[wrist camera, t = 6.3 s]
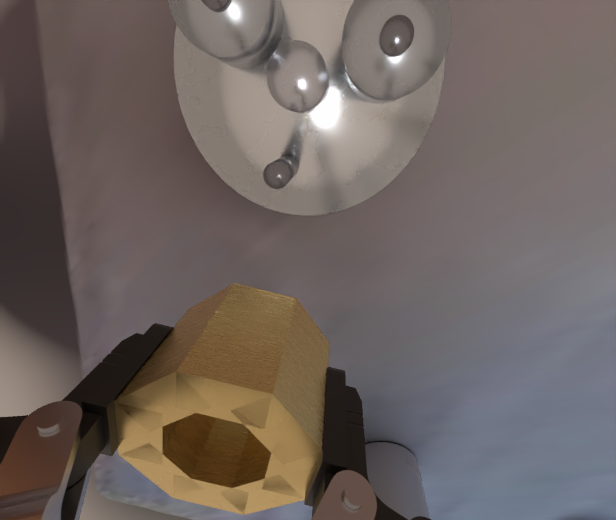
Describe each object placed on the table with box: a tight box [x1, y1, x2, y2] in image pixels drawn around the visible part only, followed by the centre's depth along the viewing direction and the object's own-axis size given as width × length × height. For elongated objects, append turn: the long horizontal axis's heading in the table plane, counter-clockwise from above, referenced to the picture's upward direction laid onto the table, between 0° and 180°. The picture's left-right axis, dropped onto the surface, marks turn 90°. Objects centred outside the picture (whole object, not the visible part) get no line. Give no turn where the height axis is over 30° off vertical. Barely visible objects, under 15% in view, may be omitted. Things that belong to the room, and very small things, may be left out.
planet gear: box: [115, 283, 329, 515], centre depth 11 cm, size 6×6×4 cm
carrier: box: [168, 0, 451, 216], centre depth 20 cm, size 20×20×6 cm
